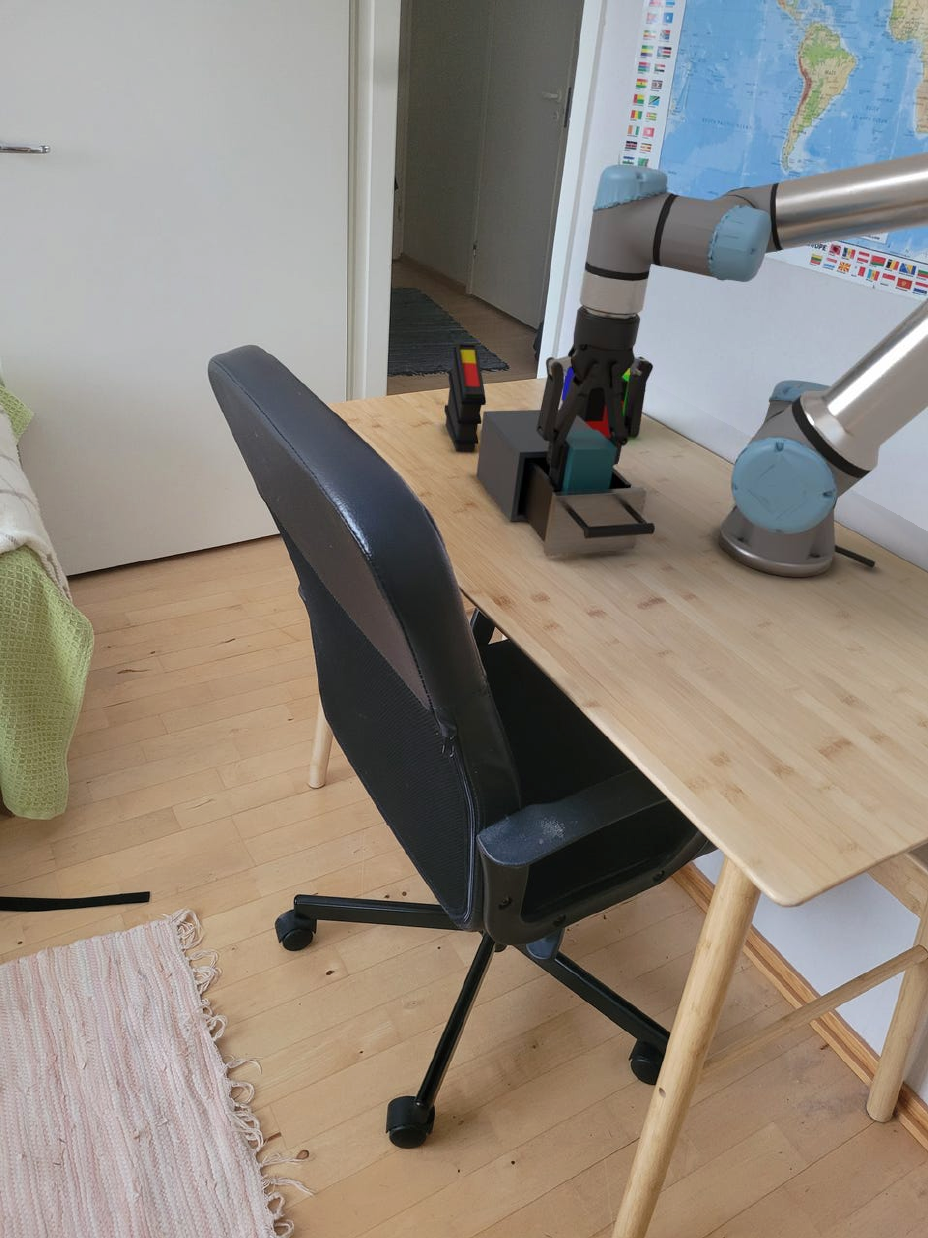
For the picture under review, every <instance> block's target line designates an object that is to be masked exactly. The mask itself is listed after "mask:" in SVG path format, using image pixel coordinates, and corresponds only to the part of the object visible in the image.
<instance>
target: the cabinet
mask: <svg viewBox="0 0 928 1238" xmlns="http://www.w3.org/2000/svg"><path fill="white" fill-rule="evenodd" d="M540 410H541V409H529V410H528V409H526V410H520V409H519V410H488V411H487V410H484V411H483V412H482V413H483V414H482V422H481V433H480V440H479V441H480V442H479V450H478V458H477V467H476V478H477V480H478V481H479V483H481V486H483V488H484V489H485V491H486V492H487V493H488V495H489V496H490V497H491V498H492V499H493V501H494V502H495V504H496V505H497V506H498V507H499V509H500V510H501V512H502V513H503V514H504V516H505V517H506V518H507V520H508V521H509V522H510V523H515V522H516V523H517V522H528V521H527V520H526V518H525V517H524V516H523V515H522V513H521V512H520V511H519V510H518V505H519V498H520V491H521V484H522V476H523V469H524V462H525V458H541V457H547V453H548V446H549V441H545V440H544V439H543V438H542V437H541V436H540V435H539V434H538V433H537V431H536V429H537V424H538V419H539V414H540ZM559 410H560V409H558V412H559ZM557 414H558V413H557ZM578 430H593V429H592V428H591V427H590V426H589V425H587V424H586V423H585V422H584V421H583V420H582V419H581V418H580V417H579V416H578V415H577V416H576V418H575V420H574V422H573V425H572V427H571V429H570V431H578Z"/></svg>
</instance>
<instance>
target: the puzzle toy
mask: <svg viewBox="0 0 928 1238" xmlns="http://www.w3.org/2000/svg"><path fill="white" fill-rule="evenodd" d="M573 374H574V372H573V370H572V368H571V366H570V367H569V368H568V370H567V376H565V377H564V385H563V390H562V395H561V399H560V404H559V408H560V407H561V405H562V403H563V401H564V399H565V396H566V394H567V392H568V390H569V383H570V381H571V378H572V376H573ZM629 376H630V369H628V370H627V371H626V373H625V374H624V375H623V376H622V377H621V380H622V390H623V392H622V393H621V397H622V407H623V417H624V411H625V403H626V396H627V389H628V381H629ZM581 385H582V384H581ZM577 415H578V416H579V417H580V418H581V419H582V420H583V421H584V422H585V423H586V424H587V425H589V426H590V427H591V428H592V429H593V430H598V431H599V432H600V433H601V434H602V435H604V436H608V437H609V438H610V435H609V429H608V419H607V410H606V401H605V392H604V388H603V387H597V388H594V389H591V391H590V393H589V395H588V396H587V397H585V399H584V401H583V403H582V405H581V407H580V410H579V412H578V414H577ZM628 440H635V438H632V437H631V438H628Z"/></svg>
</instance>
